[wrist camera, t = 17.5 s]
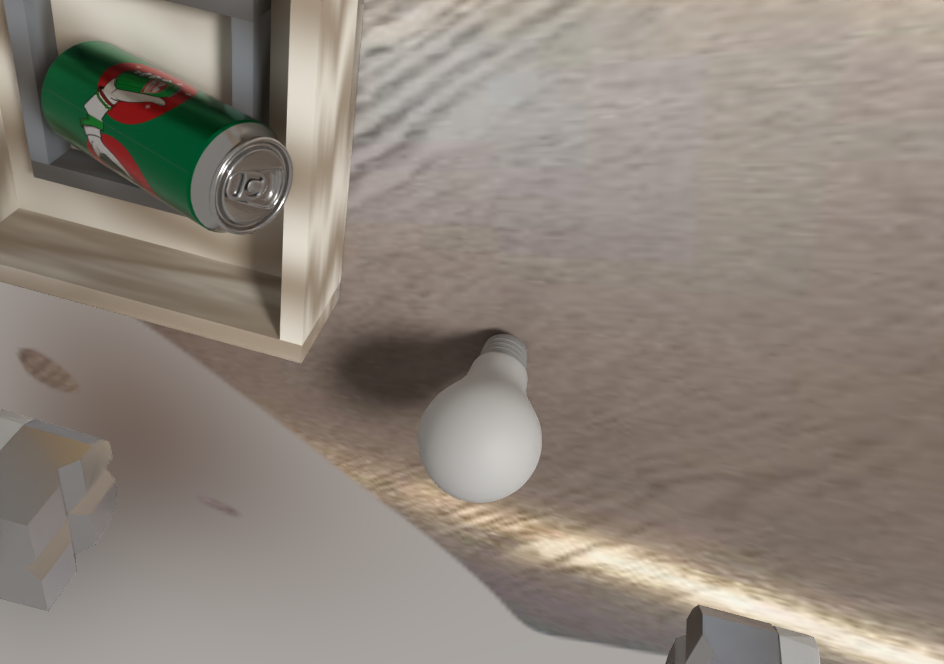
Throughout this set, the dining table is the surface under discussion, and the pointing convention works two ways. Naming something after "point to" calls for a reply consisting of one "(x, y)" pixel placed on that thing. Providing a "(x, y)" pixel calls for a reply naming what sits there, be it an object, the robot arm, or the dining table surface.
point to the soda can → (168, 137)
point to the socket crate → (152, 221)
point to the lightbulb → (483, 427)
